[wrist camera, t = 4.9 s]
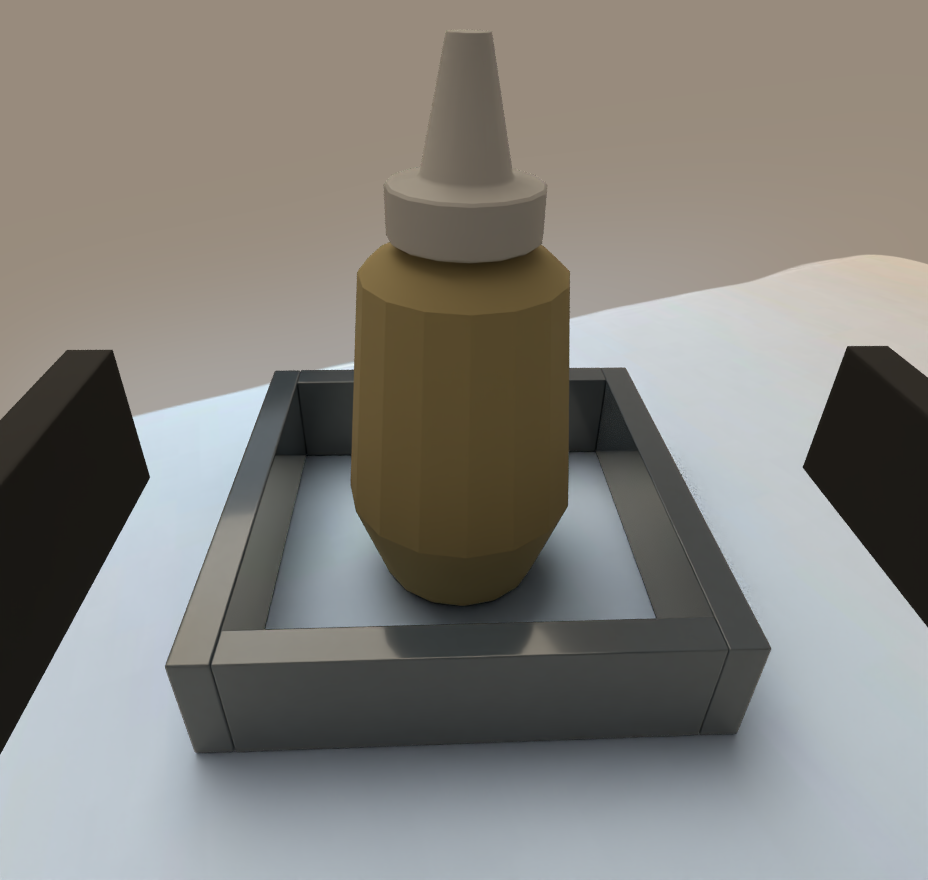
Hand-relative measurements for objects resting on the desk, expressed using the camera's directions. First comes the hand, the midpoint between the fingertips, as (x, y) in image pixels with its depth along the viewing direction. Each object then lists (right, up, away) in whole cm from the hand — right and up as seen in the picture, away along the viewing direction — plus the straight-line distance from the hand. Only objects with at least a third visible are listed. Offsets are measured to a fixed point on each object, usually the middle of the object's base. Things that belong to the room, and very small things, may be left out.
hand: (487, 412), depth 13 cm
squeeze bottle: (-1, -5, +15) cm, 16 cm away
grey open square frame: (-1, -5, +15) cm, 16 cm away
